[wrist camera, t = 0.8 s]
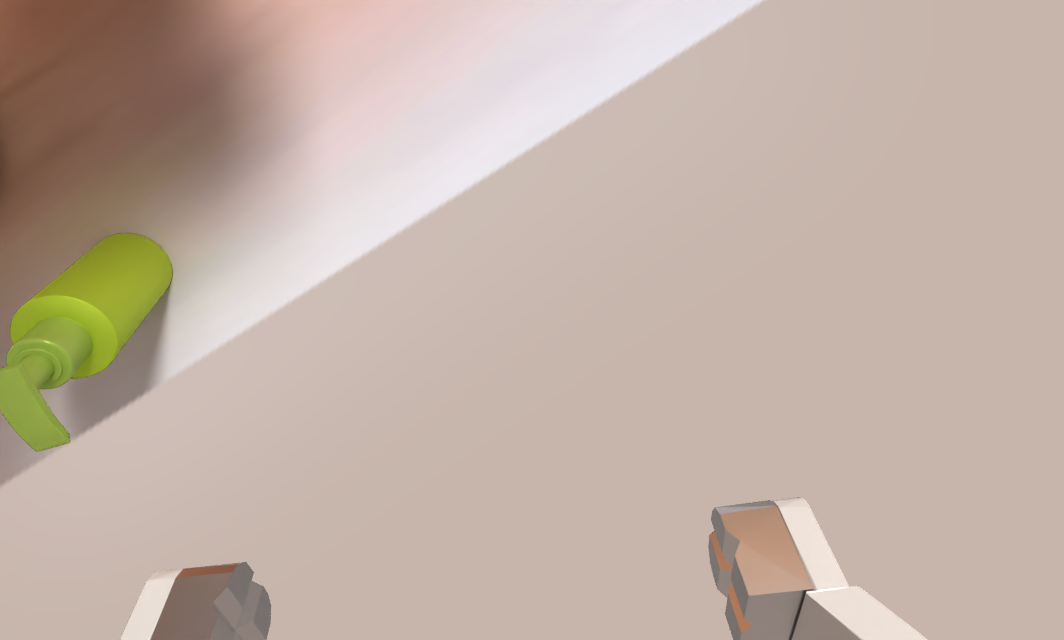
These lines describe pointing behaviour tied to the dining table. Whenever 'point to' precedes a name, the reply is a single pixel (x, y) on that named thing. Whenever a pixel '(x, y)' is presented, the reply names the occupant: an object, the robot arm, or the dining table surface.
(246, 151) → the dining table surface
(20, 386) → the soap dispenser
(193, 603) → the robot arm
